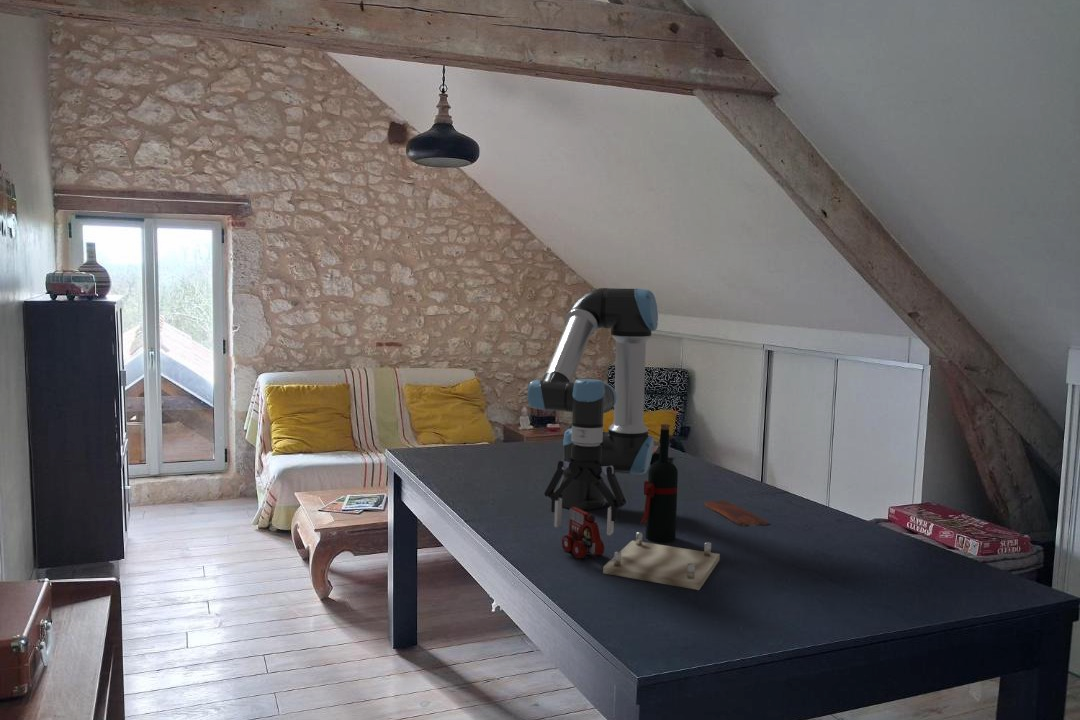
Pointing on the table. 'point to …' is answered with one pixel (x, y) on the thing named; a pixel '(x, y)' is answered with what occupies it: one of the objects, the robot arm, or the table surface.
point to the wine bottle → (661, 495)
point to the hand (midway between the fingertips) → (583, 529)
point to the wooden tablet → (735, 513)
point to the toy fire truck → (582, 534)
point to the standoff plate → (663, 563)
